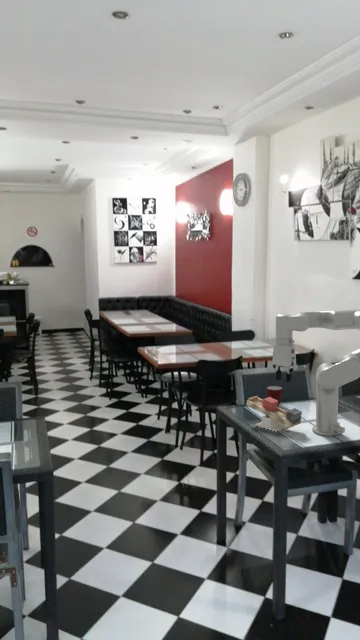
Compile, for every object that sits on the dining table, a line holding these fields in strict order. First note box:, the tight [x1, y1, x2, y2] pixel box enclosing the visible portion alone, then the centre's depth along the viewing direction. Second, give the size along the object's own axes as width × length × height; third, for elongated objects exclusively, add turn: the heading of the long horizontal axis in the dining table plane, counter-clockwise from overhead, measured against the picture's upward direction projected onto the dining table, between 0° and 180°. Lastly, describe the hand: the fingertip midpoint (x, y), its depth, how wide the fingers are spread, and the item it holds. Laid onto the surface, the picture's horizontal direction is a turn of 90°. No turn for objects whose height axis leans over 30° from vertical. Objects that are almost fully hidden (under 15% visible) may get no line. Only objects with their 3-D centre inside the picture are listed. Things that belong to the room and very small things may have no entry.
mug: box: [266, 385, 283, 407], centre depth 273 cm, size 10×8×10 cm
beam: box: [245, 395, 303, 429], centre depth 241 cm, size 26×9×7 cm, turn 44°
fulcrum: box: [254, 414, 289, 433], centre depth 242 cm, size 12×11×5 cm
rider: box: [262, 396, 278, 412], centre depth 242 cm, size 5×5×5 cm
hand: (283, 380), depth 235 cm, fingers open, 4 cm apart
